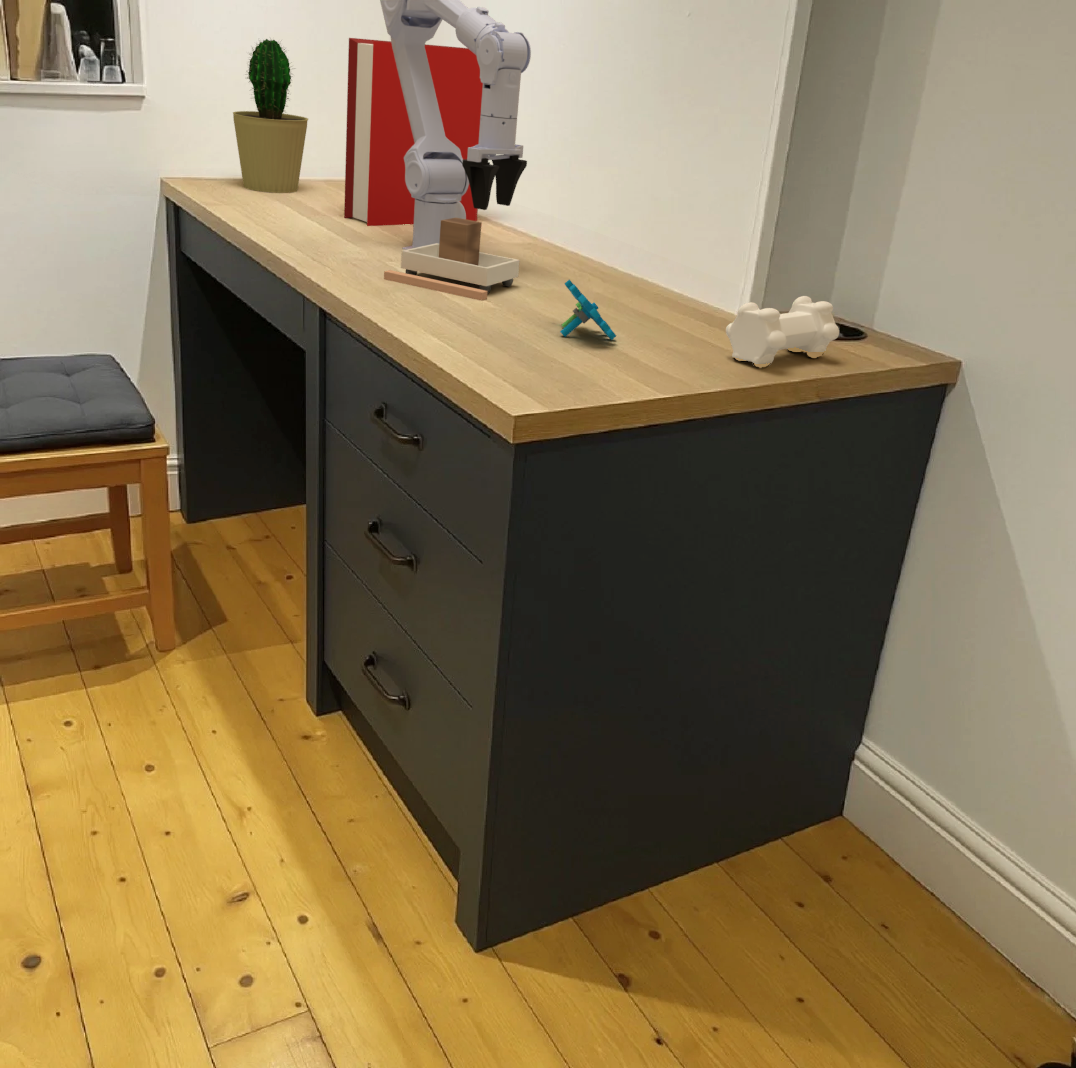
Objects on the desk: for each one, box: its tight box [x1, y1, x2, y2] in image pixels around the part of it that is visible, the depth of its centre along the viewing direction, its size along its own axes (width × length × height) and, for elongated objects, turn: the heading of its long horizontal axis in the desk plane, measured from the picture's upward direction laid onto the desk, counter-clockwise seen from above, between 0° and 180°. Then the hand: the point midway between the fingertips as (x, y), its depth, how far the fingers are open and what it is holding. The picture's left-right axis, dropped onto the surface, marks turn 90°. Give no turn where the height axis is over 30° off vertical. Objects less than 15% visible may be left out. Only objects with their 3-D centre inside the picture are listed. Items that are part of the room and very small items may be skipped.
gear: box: [559, 279, 617, 341], centre depth 148 cm, size 11×6×10 cm
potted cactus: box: [232, 37, 309, 194], centre depth 231 cm, size 15×15×30 cm
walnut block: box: [439, 218, 482, 266], centre depth 168 cm, size 4×4×7 cm
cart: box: [400, 243, 521, 295], centre depth 169 cm, size 10×15×4 cm, turn 63°
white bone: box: [725, 295, 840, 364], centre depth 147 cm, size 15×9×8 cm, turn 131°
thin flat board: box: [383, 269, 488, 301], centre depth 173 cm, size 23×17×2 cm
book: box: [343, 37, 483, 227], centre depth 213 cm, size 27×8×32 cm, turn 131°
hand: (492, 206), depth 177 cm, fingers open, 7 cm apart
